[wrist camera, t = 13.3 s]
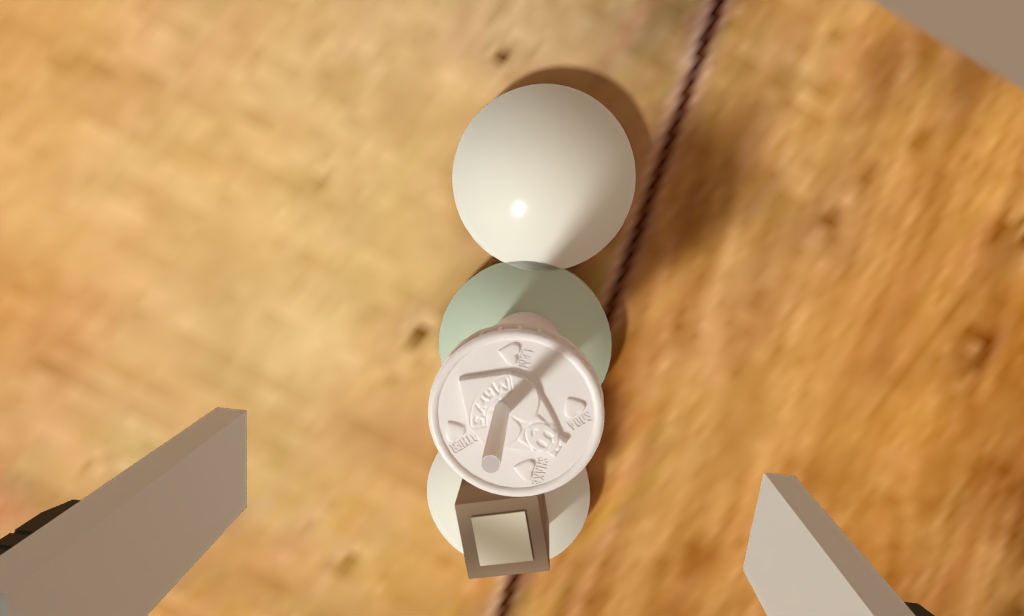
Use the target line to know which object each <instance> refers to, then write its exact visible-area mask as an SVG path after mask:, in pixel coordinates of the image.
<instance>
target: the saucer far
mask: <svg viewBox="0 0 1024 616" xmlns="http://www.w3.org/2000/svg"><path fill="white" fill-rule="evenodd" d="M461 481H462V477H460V476H459V475H458V474H457V473H456V472H454V471H453V470H452V468H451V467H450V466H449V465H448V464H447V463H446V462H445V460H444V459H443V458H442V456H441V454H440V453H439V451H438V452H437V454H436V457H435V459H434V461H433V464H432V466H431V469H430V473H429V477H428V483H427V497H428V505H429V508H430V512H431V515H432V517H433V520H434V522H435V524H436V526H437V527H438V529H439V531H440V532H441V533H442V535H443V536H444V537H445V539H446V540H447V541H448V542H449V543H450V544H451V545H452V546H453V547H455V548H456V549H457V550H458V551H460V552H461V553H463V554H464V552H463V547H462V541H461V536H460V531H459V526H458V521H457V516H456V511H455V506H454V505H455V501H456V498H457V495H458V491H459V488H460V485H461ZM544 495H545V501H546V507H547V513H548V519H549V557H550V559H551V558H553V557H554V556H556V555H558V554H559V553H560V552H562V551H563V550H564V549H566V548H567V547H568V546H569V545H570V544H571V543H572V542H573V541H574V539H575V538H576V537H577V535H578V534H579V532H580V531H581V529H582V527H583V525H584V523H585V520H586V517H587V515H588V510H589V505H590V486H589V479H588V473H587V469H586V466H585V467H584V468H583V470H582V471H581V472H580V473H578V474H577V475H576V476H575V477H574V478H573V479H571V480H570V481H569V482H567V483H565V484H564V485H562V486H560V487H558V488H556V489H554V490H551V491H549V492H546V493H544Z"/></svg>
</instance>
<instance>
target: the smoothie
mask: <svg viewBox="0 0 1024 616" xmlns="http://www.w3.org/2000/svg"><path fill="white" fill-rule="evenodd" d="M428 420H429V426H430V431H431V435H432V438H433V440H434V443H435V445H436V447H437V449H438V451H439V453H440V454H441V456H442V458H443V459H444V460H445V462H446V463H447V464H448V465H449V466H450V467H451V468H452V470H453V471H454V472H456V473H457V474H458V475H459V476H460V477H462V478H463V479H464V480H466V481H467V482H469V483H470V484H472V485H474V486H476V487H478V488H480V489H482V490H485V491H487V492H491V493H494V494H498V495H503V496H512V497H524V496H533V495H538V494H542V493H546V492H549V491H551V490H554V489H556V488H558V487H560V486H562V485H564V484H565V483H567V482H569V481H570V480H571V479H573V478H574V477H575V476H576V475H577V474H578V473H580V472H581V471H582V470H583V468H584V467H585V466H586V465H587V464H588V462H589V461H590V460H591V458H592V457H593V455H594V453H595V451H596V449H597V447H598V445H599V442H600V439H601V436H602V432H603V427H604V396H603V391H602V388H601V385H600V381H599V378H598V375H597V373H596V371H595V369H594V368H593V366H592V365H591V363H590V362H589V360H588V358H587V357H586V355H585V354H584V353H583V352H582V351H581V350H580V349H579V348H577V347H576V346H575V345H574V344H573V343H572V342H571V341H570V340H569V339H567V338H565V337H563V336H562V335H560V334H559V332H558V331H557V330H556V328H555V327H554V325H553V324H552V323H551V322H550V321H549V320H548V319H546V318H545V317H543V316H541V315H539V314H537V313H533V312H517V313H514V314H511V315H509V316H507V317H505V318H504V319H502V320H501V321H500V322H499V323H497V324H496V325H495V326H492V327H488V328H485V329H482V330H479V331H477V332H476V333H474V334H472V335H471V336H469V337H468V338H466V339H464V340H463V341H461V342H460V343H459V344H458V345H457V346H456V347H455V348H454V349H453V350H452V351H451V352H450V353H449V355H448V356H447V357H446V358H445V359H444V361H443V363H442V365H441V367H440V369H439V371H438V373H437V375H436V377H435V380H434V383H433V385H432V388H431V392H430V396H429V403H428Z"/></svg>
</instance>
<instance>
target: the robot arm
mask: <svg viewBox="0 0 1024 616" xmlns="http://www.w3.org/2000/svg"><path fill="white" fill-rule="evenodd" d="M246 507H247V411H246V410H238V409H229V408H221V407H217V408H215V409H214V410H212V411H211V412H210V413H208V414H207V415H205V416H204V417H202V418H201V419H199V420H198V421H196V422H195V423H193V424H192V425H191V426H189V427H188V428H186V429H185V430H183V431H182V432H180V433H179V434H177V435H176V436H174V437H173V438H172V439H170V440H169V441H167V442H166V443H164V444H163V445H161V446H160V447H158V448H157V449H155V450H154V451H153V452H151V453H150V454H148V455H147V456H145V457H144V458H142V459H141V460H139V461H138V462H136V463H135V464H133V465H132V466H131V467H129V468H128V469H126V470H125V471H123V472H122V473H120V474H119V475H117V476H116V477H114V478H113V479H112V480H110V481H109V482H107V483H106V484H104V485H103V486H101V487H100V488H98V489H97V490H95V491H94V492H93V493H91V494H90V495H88V496H87V497H85V498H84V499H82V500H81V501H80V500H71V501H68V502H66V503H64V504H61V505H59V506H56V507H54V508H51V509H49V510H47V511H44V512H42V513H40V514H38V515H37V516H35V517H34V518H32V519H31V520H29V521H28V522H26V523H25V524H23V525H22V526H20V527H19V528H17V529H16V530H15V532H14V533H9V534H8V535H6V536H5V537H3V538H2V539H0V616H147V615H148V614H149V613H150V612H151V611H152V610H153V609H154V607H155V606H156V605H157V604H158V603H159V602H160V601H161V600H162V599H163V598H164V597H165V595H166V594H167V593H168V592H169V591H170V590H171V589H172V588H173V587H174V586H175V585H176V584H177V582H178V581H179V580H180V579H181V578H182V577H183V576H184V575H185V574H186V573H187V572H188V570H189V569H190V568H191V567H192V566H193V565H194V564H195V563H196V562H197V561H198V560H199V558H200V557H201V556H202V555H203V554H204V553H205V552H206V551H207V550H208V549H209V548H210V547H211V545H212V544H213V543H214V542H215V541H216V540H217V539H218V538H219V537H220V536H221V535H222V533H223V532H224V531H225V530H226V529H227V528H228V527H229V526H230V525H231V524H232V523H233V521H234V520H235V519H236V518H237V517H238V516H239V515H240V514H241V513H242V512H243V511H244V510H245V508H246ZM743 570H744V572H745V574H746V576H747V578H748V580H749V582H750V584H751V586H752V588H753V590H754V592H755V594H756V595H757V597H758V599H759V601H760V603H761V605H762V607H763V609H764V611H765V613H766V615H767V616H934V615H933V614H931V613H930V612H929V611H927V610H926V609H925V608H923V607H922V606H921V605H919V604H917V603H909V602H903V601H902V599H901V598H900V597H899V596H898V595H897V594H896V592H895V591H894V590H893V589H892V588H891V587H890V585H889V584H888V583H887V582H886V581H885V580H884V579H883V577H882V576H881V575H880V574H879V573H878V572H877V570H876V569H875V568H874V567H873V566H872V565H871V563H870V562H869V561H868V560H867V559H866V558H865V557H864V555H863V554H862V553H861V552H860V551H859V550H858V548H857V547H856V546H855V545H854V544H853V543H852V541H851V540H850V539H849V538H848V537H847V536H846V535H845V533H844V532H843V531H842V530H841V529H840V528H839V526H838V525H837V524H836V523H835V522H834V521H833V519H832V518H831V517H830V516H829V515H828V514H827V513H826V511H825V510H824V509H823V508H822V507H821V506H820V504H819V503H818V502H817V501H816V500H815V499H814V497H813V496H812V495H811V494H810V493H809V492H808V491H807V489H806V488H805V487H804V486H803V485H802V484H801V482H800V481H799V480H798V479H797V478H796V477H795V476H790V475H782V474H774V473H765V472H764V474H763V479H762V483H761V488H760V492H759V497H758V501H757V506H756V511H755V515H754V520H753V524H752V529H751V533H750V538H749V543H748V547H747V552H746V556H745V561H744V565H743Z"/></svg>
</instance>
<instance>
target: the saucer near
mask: <svg viewBox="0 0 1024 616" xmlns="http://www.w3.org/2000/svg"><path fill="white" fill-rule="evenodd" d="M635 183H636V170H635V161H634V156H633V151H632V148H631V145H630V142H629V140H628V138H627V135H626V133H625V131H624V129H623V128H622V126H621V125H620V123H619V122H618V120H617V119H616V118H615V117H614V115H613V114H612V113H611V112H610V111H609V110H608V109H607V108H606V107H605V106H604V105H603V104H601V103H600V102H599V101H597V100H596V99H594V98H593V97H591V96H590V95H588V94H586V93H584V92H582V91H580V90H577V89H574V88H571V87H568V86H563V85H557V84H533V85H527V86H523V87H519V88H516V89H513V90H511V91H508V92H506V93H504V94H502V95H501V96H499V97H497V98H495V99H494V100H493V101H491V102H490V103H489V104H487V105H486V106H485V107H484V108H483V109H482V110H481V111H480V112H479V113H478V114H477V115H476V116H475V117H474V119H473V120H472V121H471V122H470V124H469V125H468V127H467V129H466V130H465V132H464V134H463V135H462V138H461V140H460V143H459V145H458V147H457V151H456V155H455V158H454V165H453V176H452V184H453V193H454V198H455V203H456V207H457V209H458V212H459V215H460V217H461V219H462V221H463V223H464V225H465V227H466V229H467V230H468V232H469V233H470V234H471V236H472V237H473V238H474V240H475V241H476V242H477V243H478V244H479V245H480V246H481V247H482V248H483V249H484V250H486V251H487V252H488V253H489V254H491V255H492V256H494V257H495V258H497V259H498V260H500V261H502V262H504V263H508V264H511V263H513V264H511V265H512V266H515V267H517V265H518V264H520V263H523V264H521V265H522V266H521V265H519V266H518V268H520V269H524V268H525V269H527V268H526V267H530V266H531V265H534V264H535V263H536V264H538V263H539V264H540V266H541V267H537V266H534V267H535V268H537V269H538V268H540V269H542V268H543V266H544V264H543V265H541V264H542V263H546V264H547V265H548V264H549V265H548V266H552V267H551V268H552V269H554V268H555V269H557V268H556V267H558V268H561V269H565V268H569V267H572V266H575V265H577V264H580V263H582V262H584V261H586V260H588V259H590V258H591V257H593V256H594V255H595V254H597V253H598V252H600V251H601V250H602V249H603V248H604V247H605V246H606V245H608V244H609V242H610V241H611V240H612V239H613V238H614V237H615V236H616V234H617V233H618V231H619V230H620V228H621V227H622V225H623V223H624V221H625V219H626V217H627V215H628V213H629V210H630V208H631V205H632V202H633V197H634V192H635ZM515 261H516V264H515V263H514V262H515ZM518 261H519V262H518ZM524 261H526V262H527V261H528V262H529V263H530V264H529V263H528V262H527V264H529V265H527V264H526V263H524ZM532 261H534V262H532ZM517 262H518V263H517ZM531 262H532V263H531ZM540 262H541V263H540ZM533 263H534V264H533ZM525 264H526V265H527V266H525ZM536 264H535V265H536ZM539 264H538V265H539ZM523 266H524V268H522V267H523ZM531 267H533V266H531ZM544 267H545V269H546V268H547V270H549V271H550V270H552V269H550V268H549V269H548V267H546V265H545V266H544ZM540 269H539V271H540ZM527 270H532V271H534V270H533V269H527ZM557 270H558V269H557Z"/></svg>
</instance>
